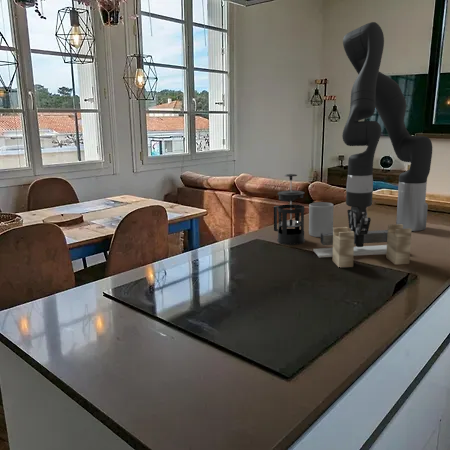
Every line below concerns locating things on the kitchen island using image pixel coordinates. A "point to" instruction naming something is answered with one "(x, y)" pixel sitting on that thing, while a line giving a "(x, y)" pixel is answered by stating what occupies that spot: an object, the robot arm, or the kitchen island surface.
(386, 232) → the rail
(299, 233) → the french press
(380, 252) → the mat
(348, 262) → the post
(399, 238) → the post
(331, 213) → the mug
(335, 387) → the kitchen island surface
